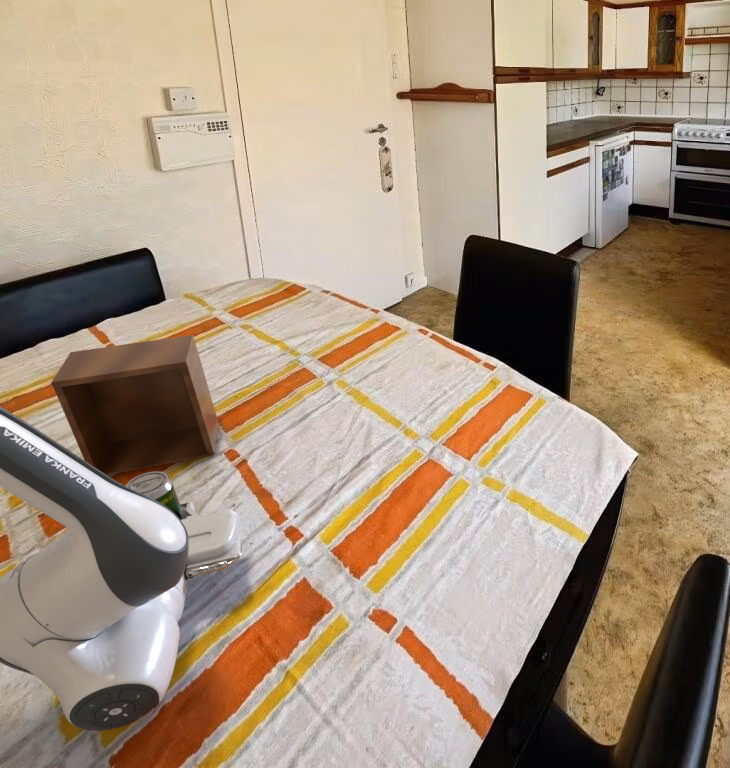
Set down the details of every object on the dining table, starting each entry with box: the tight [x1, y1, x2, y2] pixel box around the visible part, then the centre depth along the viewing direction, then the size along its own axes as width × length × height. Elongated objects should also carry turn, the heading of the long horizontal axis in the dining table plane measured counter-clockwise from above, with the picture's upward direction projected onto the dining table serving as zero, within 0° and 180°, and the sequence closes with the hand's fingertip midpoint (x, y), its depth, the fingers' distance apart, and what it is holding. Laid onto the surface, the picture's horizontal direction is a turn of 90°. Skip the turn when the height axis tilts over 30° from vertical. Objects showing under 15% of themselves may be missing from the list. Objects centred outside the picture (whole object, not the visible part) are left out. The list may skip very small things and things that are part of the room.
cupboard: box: [50, 334, 219, 476], centre depth 102 cm, size 18×11×18 cm, turn 109°
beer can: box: [125, 470, 182, 520], centre depth 81 cm, size 5×5×12 cm
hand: (159, 512), depth 82 cm, fingers closed on beer can, 5 cm apart
